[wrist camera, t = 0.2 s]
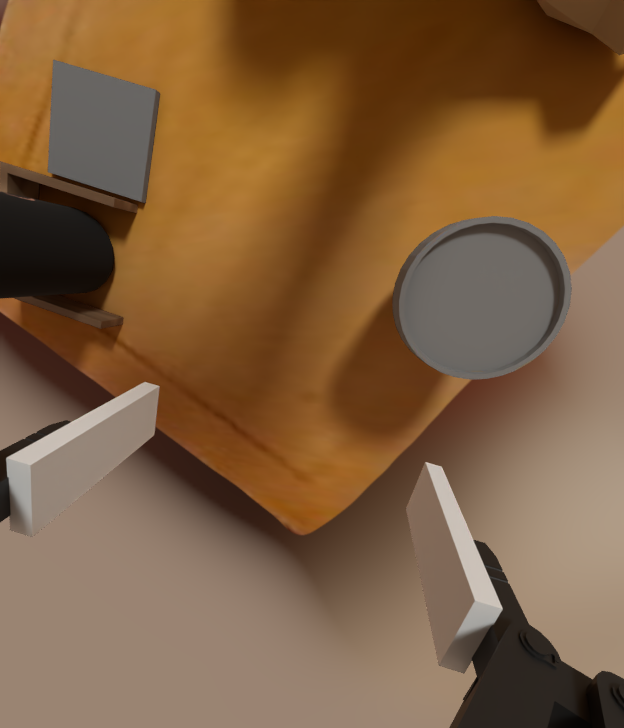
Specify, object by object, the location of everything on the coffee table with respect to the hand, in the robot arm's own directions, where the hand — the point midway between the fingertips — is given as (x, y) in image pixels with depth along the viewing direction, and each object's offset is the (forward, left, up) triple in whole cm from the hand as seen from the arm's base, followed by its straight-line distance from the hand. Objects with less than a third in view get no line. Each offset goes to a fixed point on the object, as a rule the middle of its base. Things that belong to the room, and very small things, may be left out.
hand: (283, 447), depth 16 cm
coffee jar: (0, -36, -28) cm, 46 cm away
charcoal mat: (-15, -35, -28) cm, 47 cm away
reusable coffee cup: (-9, +10, -28) cm, 31 cm away
